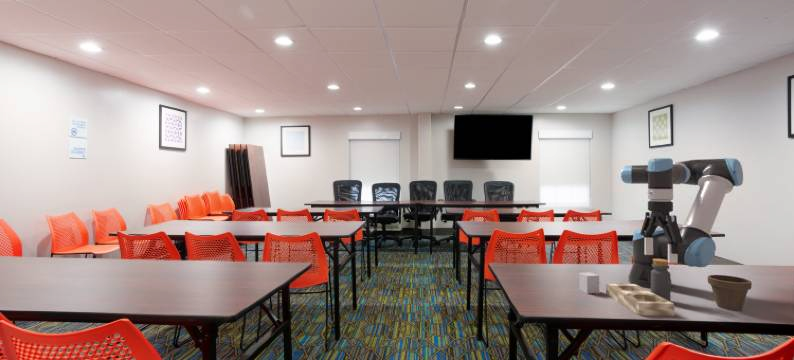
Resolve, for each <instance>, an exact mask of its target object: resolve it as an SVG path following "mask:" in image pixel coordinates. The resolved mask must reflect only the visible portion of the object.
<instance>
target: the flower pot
mask: <svg viewBox="0 0 794 360" xmlns="http://www.w3.org/2000/svg"><path fill="white" fill-rule="evenodd" d="M707 283H708V284H709V285H710V287H711V290H712V294H713V297H714V300H715V304H716V306H717V307H719V308H722V309H724V310H730V311H742V310H743V307H744V304H745V302H746V298H747V294H748V291H749V290H752V284H753V283H752V281H751V280H750V279H746V278H743V277H738V276H733V275H724V274H723V275H722V274H710V275H707Z"/></svg>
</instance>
